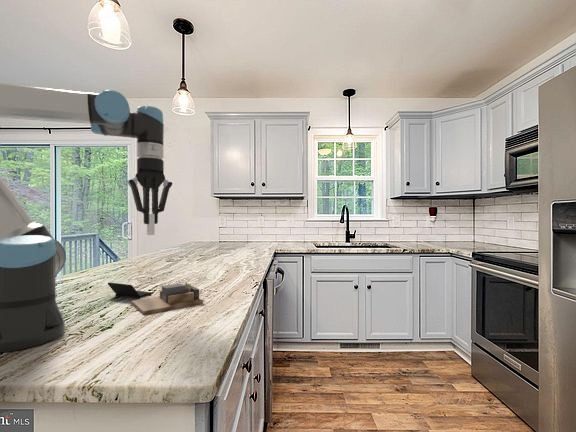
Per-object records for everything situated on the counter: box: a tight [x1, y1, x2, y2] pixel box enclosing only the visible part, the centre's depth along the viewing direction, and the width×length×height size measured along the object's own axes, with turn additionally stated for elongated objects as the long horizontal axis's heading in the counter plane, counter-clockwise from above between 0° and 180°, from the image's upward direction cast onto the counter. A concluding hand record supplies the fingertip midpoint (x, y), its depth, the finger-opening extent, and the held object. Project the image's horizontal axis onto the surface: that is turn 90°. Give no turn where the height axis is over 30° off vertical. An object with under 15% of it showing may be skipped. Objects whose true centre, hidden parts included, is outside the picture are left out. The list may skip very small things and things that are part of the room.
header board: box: [131, 282, 204, 316], centre depth 101 cm, size 18×14×5 cm
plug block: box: [161, 283, 185, 303], centre depth 102 cm, size 6×4×4 cm, turn 129°
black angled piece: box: [107, 282, 153, 300], centre depth 110 cm, size 12×7×10 cm
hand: (150, 234), depth 97 cm, fingers closed
